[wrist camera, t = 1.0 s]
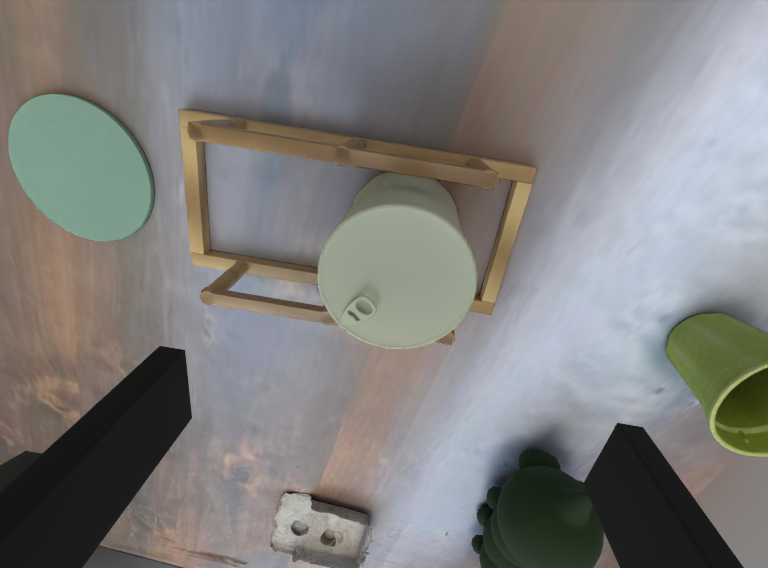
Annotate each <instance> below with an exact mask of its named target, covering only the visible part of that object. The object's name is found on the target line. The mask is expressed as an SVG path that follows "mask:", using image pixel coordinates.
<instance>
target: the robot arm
mask: <svg viewBox="0 0 768 568" xmlns="http://www.w3.org/2000/svg"><path fill="white" fill-rule="evenodd" d="M191 418H192V414H191V404H190V395H189V385H188V375H187V366H186V356H185V350H181V349H175V348H169V347H163V346H159V347H158V348H157V349H156V350H155V351H154V352H153V353H152V354H151V355H150V356H149V357H147V358H146V359H145V360H144V361H143V362H142V363H141V364H140V365H139V366H138V367H136V368H135V369H134V370H133V371H132V372H131V373H130V374H129V375H128V376H127V377H126V378H124V379H123V380H122V381H121V382H120V383H119V384H118V385H117V386H116V387H115V388H114V389H112V390H111V391H110V392H109V393H108V394H107V395H106V396H105V397H104V398H103V399H102V400H100V401H99V402H98V403H97V404H96V405H95V406H94V407H93V408H92V409H91V410H90V411H88V412H87V413H86V414H85V415H84V416H83V417H82V418H81V419H80V420H79V421H78V422H76V423H75V424H74V425H73V426H72V427H71V428H70V429H69V430H68V431H67V432H66V433H64V434H63V435H62V436H61V437H60V438H59V439H58V440H57V441H56V442H55V443H53V444H52V445H51V446H50V447H49V448H48V449H47V450H46V451H45V452H44V453H43V454H41V453H35V452H29V451H25V452H23V453H21V454H19V455H18V456H16V457H14V458H12V459H11V460H9V461H7V462H5V463H4V464H2V465H0V568H82V567H83V566H84V565H85V563H86V562H87V561H88V559H89V558H90V556H91V555H92V554H93V552H94V551H95V550H96V548H97V547H98V546H99V544H100V543H101V541H102V540H103V539H104V537H105V536H106V535H107V533H108V532H109V530H110V529H111V528H112V526H113V525H114V524H115V522H116V521H117V520H118V518H119V517H120V515H121V514H122V513H123V511H124V510H125V509H126V507H127V506H128V505H129V503H130V502H131V500H132V499H133V498H134V496H135V495H136V494H137V492H138V491H139V489H140V488H141V487H142V485H143V484H144V483H145V481H146V480H147V479H148V477H149V476H150V474H151V473H152V472H153V470H154V469H155V468H156V466H157V465H158V464H159V462H160V461H161V459H162V458H163V457H164V455H165V454H166V453H167V451H168V450H169V448H170V447H171V446H172V444H173V443H174V442H175V440H176V439H177V438H178V436H179V435H180V433H181V432H182V431H183V429H184V428H185V427H186V425H187V424H188V423H189V421H190V420H191ZM583 486H584V488H585V490H586V492H587V495H588V497H589V499H590V501H591V504H592V506H593V508H594V510H595V513H596V515H597V517H598V519H599V521H600V524H601V526H602V528H603V530H604V533H605V535H606V537H607V539H608V542H609V544H610V546H611V548H612V551H613V553H614V555H615V557H616V559H617V562H618V564H619V566H620V568H744V567H743V566H742V565H741V564H740V562H739V561H738V559H737V558H736V556H735V555H734V554H733V552H732V551H731V549H730V548H729V547H728V545H727V544H726V542H725V541H724V540H723V538H722V537H721V535H720V534H719V533H718V531H717V530H716V528H715V527H714V526H713V524H712V523H711V522H710V520H709V519H708V518H707V516H706V515H705V513H704V512H703V510H702V509H701V508H700V506H699V505H698V503H697V502H696V501H695V499H694V498H693V496H692V495H691V494H690V492H689V491H688V489H687V488H686V487H685V485H684V484H683V482H682V481H681V480H680V478H679V477H678V476H677V474H676V473H675V471H674V470H673V469H672V467H671V466H670V464H669V463H668V462H667V460H666V459H665V457H664V456H663V455H662V453H661V452H660V450H659V449H658V448H657V446H656V445H655V443H654V442H653V441H652V439H651V438H650V437H649V435H648V434H647V432H646V431H645V430H644V428H643V427H638V426H632V425H626V424H620V423H617V425H616V426H615V428H614V430H613V432H612V434H611V435H610V437H609V439H608V441H607V442H606V444H605V446H604V448H603V450H602V451H601V453H600V455H599V457H598V458H597V460H596V462H595V464H594V466H593V467H592V469H591V471H590V473H589V474H588V476H587V478H586V480H585V482H584V483H583Z"/></svg>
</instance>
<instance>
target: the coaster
mask: <svg viewBox="0 0 768 568" xmlns="http://www.w3.org/2000/svg"><path fill="white" fill-rule="evenodd" d="M8 147H9V155H10V159H11V163H12V166H13V169H14V172H15V174H16V176H17V178H18V181H19V182H20V184H21V186H22V188H23V189H24V191H25V192H26V194H27V195H28V197H29V198H30V199H31V201H32V202H33V203H34V204H35V205H36V207H37V208H38V209H39V210H40V211H41V212H42V213H43V214H44V215H46V216H47V217H48V218H49V219H50V220H52V221H53V222H54V223H56V224H57V225H58V226H60V227H62V228H63V229H65V230H67V231H68V232H71V233H73V234H75V235H77V236H80V237H83V238H86V239H90V240H95V241H115V240H120V239H123V238H126V237H128V236H130V235H132V234H134V233H135V232H137V231H138V230H139V229H140V228H141V227H142V226H143V225H144V224H145V223H146V221H147V219H148V218H149V216H150V213H151V211H152V207H153V203H154V183H153V177H152V173H151V170H150V167H149V164H148V161H147V159H146V157H145V155H144V153H143V151H142V149H141V147H140V146H139V144H138V143H137V141H136V140H135V138H134V137H133V136H132V134H131V133H130V132H129V131H128V130H127V128H126V127H125V126H124V125H123V124H122V123H121V122H120V121H119V120H118V119H116V118H115V117H114V116H113V115H111V114H110V113H109V112H107V111H106V110H104V109H103V108H101V107H100V106H98V105H96V104H94V103H92V102H90V101H88V100H85V99H83V98H80V97H76V96H72V95H66V94H45V95H41V96H37V97H35V98H33V99H30V100H29V101H27V102H26V103H25V104H23V105H22V106H21V107H20V108H19V109H18V111H17V112H16V114H15V115H14V117H13V119H12V122H11V125H10V129H9V134H8Z"/></svg>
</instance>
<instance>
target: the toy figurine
mask: <svg viewBox="0 0 768 568" xmlns="http://www.w3.org/2000/svg"><path fill="white" fill-rule="evenodd" d="M519 467H520V469H517V470H515V472H514V474H513V475H512V476H511V477H509V479H508V480H507V481H506V482H505V484H504V486H503V488H502V487H496V486H493V487H492V488H490V489H489V490H488V493H487V501H488V505H489V506H490V507H491V508H492V509H493V511H492V509H491V508H489V507H487V506H482V507H480V508H479V509H478V512H477V519H478V521H479V523H480V524H481V525H483V526H484V530H483V535H476V536H475V537H473V539H472V546H473V549H474V551H475V552H476V553H478V554H480V563H481V567H482V568H593V567H594V566H595V564H596V563H597V561H598V559H599V557H600V554H601V551H602V547H603V538H604V532H603V528H602V526H601V524H600V521H599V519H598V517H597V515H596V513H595V510H594V508H593V506H592V504H591V501H590V499H589V497H588V495H587V492H586V490H585V488H584V486H583V482H581V481H577V480H576V479H574V478H573V477H571V476H570V475H568V474H566V473H565V472H563V471H561V469H560V464H559V462H558V461H557V459H556V458H555V457H554V456H552V455H550V454H548V453H546V452H542V451H537V450H527V451H525V452H524V453H522V454H521V456H520V458H519Z"/></svg>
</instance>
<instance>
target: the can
mask: <svg viewBox="0 0 768 568" xmlns="http://www.w3.org/2000/svg"><path fill="white" fill-rule="evenodd" d="M477 278H478V277H477V267H476V261H475V258H474V255H473V252H472V250H471V248H470V246H469V244H468V242H467V241H466V239H465V237H464V234H463V232H462V229H461V226H460V224H459V221H458V213H457V209H456V206H455V203H454V201H453V199H452V197H451V195H450V194H449V192H448V191H447V190H446V189H445V188H444V186H443V185H441V184H440V183H439V182H438V181H437V180H434V179H428V178H422V177H416V176H410V175H404V174H398V173H392V172H386V173H384V174H381V175H379V176H377V177H375V178H373V179H372V180H371V181H369V182H368V183H367V184H366V185H365V186H364V187H363V188H362V189H361V190H360V191H359V193H358V194H357V196H356V197H355V199H354V201H353V204H352V206H351V209H350V210H349V212H348V213H347V215H346V216H345V218H344V219H343V221H342V222H341V223H340V225H339V226H337V227H336V228H335V230H334V231H333V232H332V233H331V235H330V236H329V238H328V239H327V241H326V243H325V245H324V247H323V249H322V252H321V255H320V258H319V263H318V286H319V291H320V295H321V298H322V300H323V302H324V305H325V307H326V308H327V310H328V312H329V313H330V315H331V316H332V318H333V319H334V320H335V321H336V322H337V323H338V324H339V325H340V326H341V327H342V328H343V329H344V330H345V331H347V332H348V333H349V334H351V335H352V336H354V337H356V338H357V339H359V340H361V341H363V342H366V343H368V344H371V345H374V346H378V347H382V348H388V349H411V348H416V347H421V346H424V345H427V344H430V343H432V342H435V341H437V340H439V339H440V338H442V337H444V336H445V335H447V334H448V333H450V332H451V331H452V330H453V329H454V328H455V327H457V326H458V325H459V324H460V322H461V321H462V320H463V319H464V317H465V316H466V314H467V313H468V311H469V309H470V307H471V305H472V303H473V300H474V297H475V293H476V288H477Z"/></svg>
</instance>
